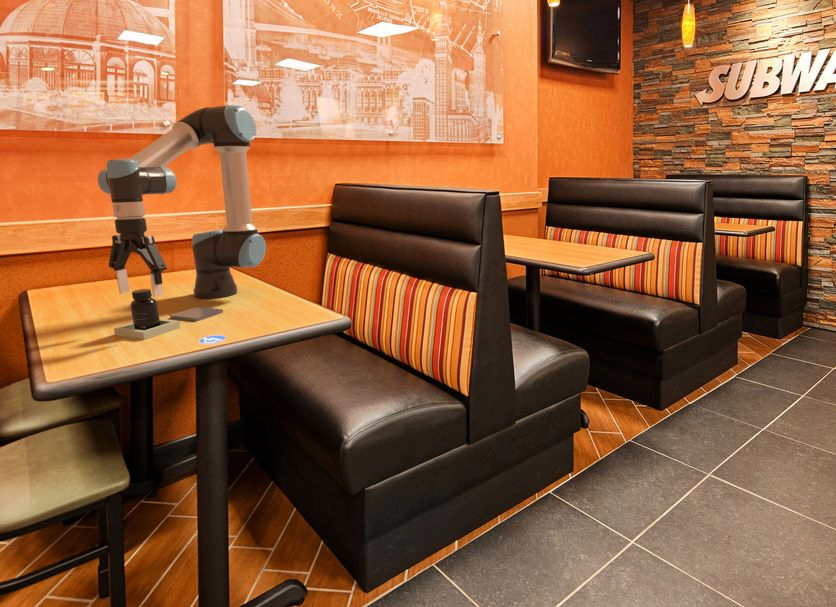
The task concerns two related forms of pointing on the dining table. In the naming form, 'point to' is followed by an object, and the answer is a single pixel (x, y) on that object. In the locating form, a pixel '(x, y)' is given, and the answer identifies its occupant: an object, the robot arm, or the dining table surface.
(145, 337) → the frame
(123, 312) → the dining table surface
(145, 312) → the supplement bottle
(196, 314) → the slate coaster
